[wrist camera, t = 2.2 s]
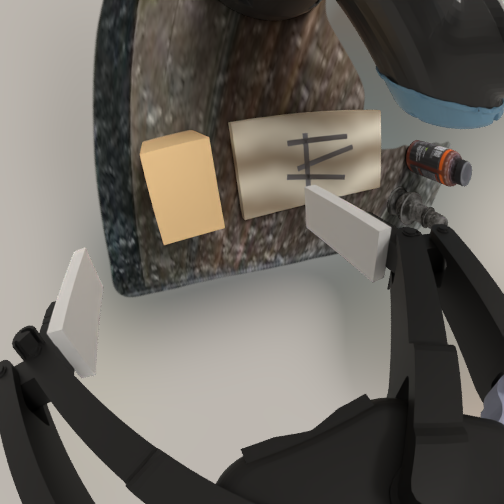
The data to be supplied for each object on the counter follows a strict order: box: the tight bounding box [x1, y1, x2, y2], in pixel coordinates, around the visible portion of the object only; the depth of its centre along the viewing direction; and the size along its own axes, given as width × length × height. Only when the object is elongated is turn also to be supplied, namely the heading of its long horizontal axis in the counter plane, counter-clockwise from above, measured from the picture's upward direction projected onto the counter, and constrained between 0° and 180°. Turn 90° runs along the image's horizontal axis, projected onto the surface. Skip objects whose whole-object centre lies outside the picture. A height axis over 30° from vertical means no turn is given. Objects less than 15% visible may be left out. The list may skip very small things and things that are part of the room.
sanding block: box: [140, 130, 225, 245], centre depth 26 cm, size 8×6×10 cm
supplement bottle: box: [406, 140, 472, 186], centre depth 37 cm, size 6×6×11 cm
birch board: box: [228, 110, 381, 220], centre depth 35 cm, size 12×22×1 cm, turn 97°
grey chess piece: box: [388, 187, 448, 229], centre depth 40 cm, size 6×6×12 cm
